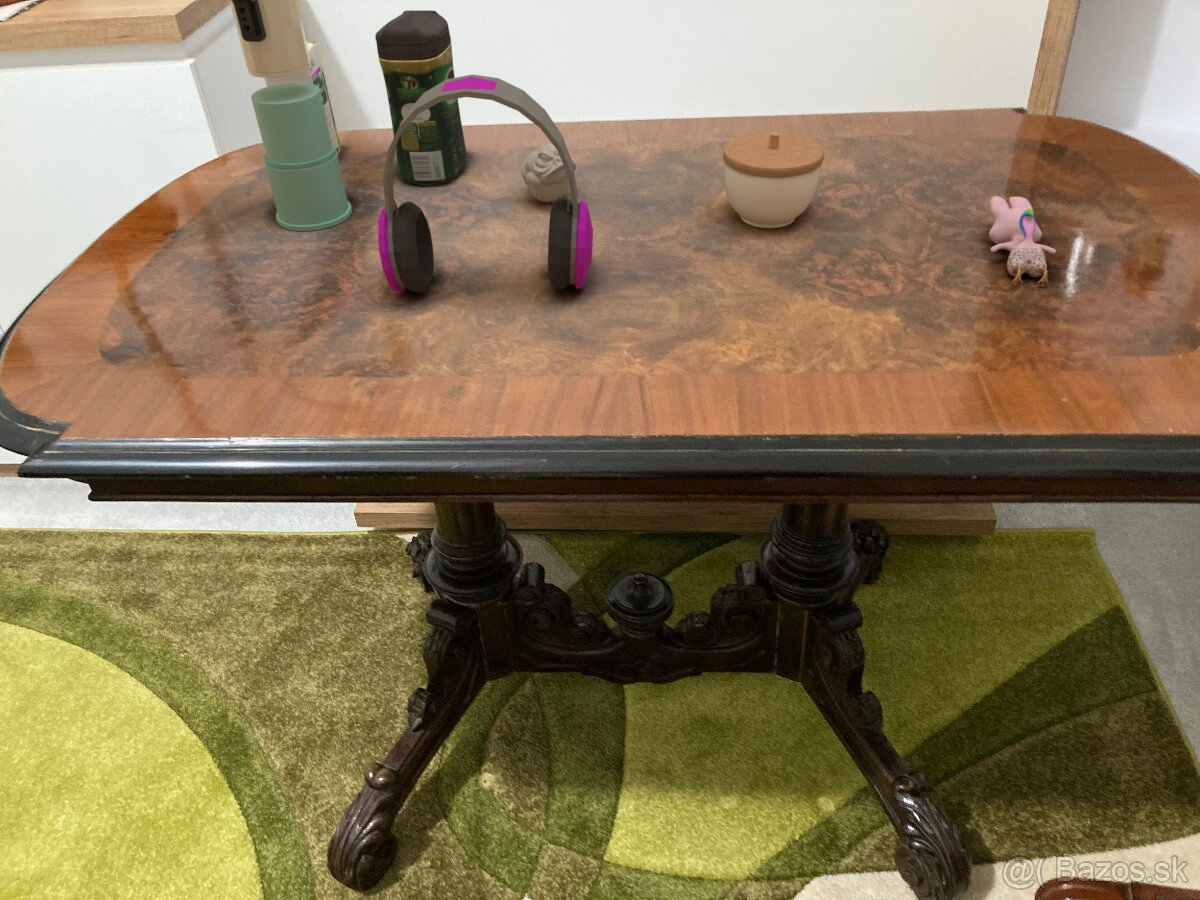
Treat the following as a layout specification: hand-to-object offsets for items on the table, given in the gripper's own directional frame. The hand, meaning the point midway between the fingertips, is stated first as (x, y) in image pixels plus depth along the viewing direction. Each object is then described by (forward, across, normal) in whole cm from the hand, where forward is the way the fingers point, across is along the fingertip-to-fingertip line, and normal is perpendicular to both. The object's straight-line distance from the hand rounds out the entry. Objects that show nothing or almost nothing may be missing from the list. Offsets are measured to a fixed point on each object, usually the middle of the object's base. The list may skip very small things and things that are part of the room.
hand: (270, 30), depth 95 cm
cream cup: (+4, 0, 0) cm, 4 cm away
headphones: (+20, +14, +25) cm, 36 cm away
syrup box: (+20, -15, -6) cm, 26 cm away
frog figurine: (+20, -6, +27) cm, 34 cm away
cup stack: (+20, 0, 0) cm, 20 cm away
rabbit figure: (+20, +2, +77) cm, 80 cm away
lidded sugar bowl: (+20, -4, +52) cm, 56 cm away
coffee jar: (+20, -14, +10) cm, 27 cm away
